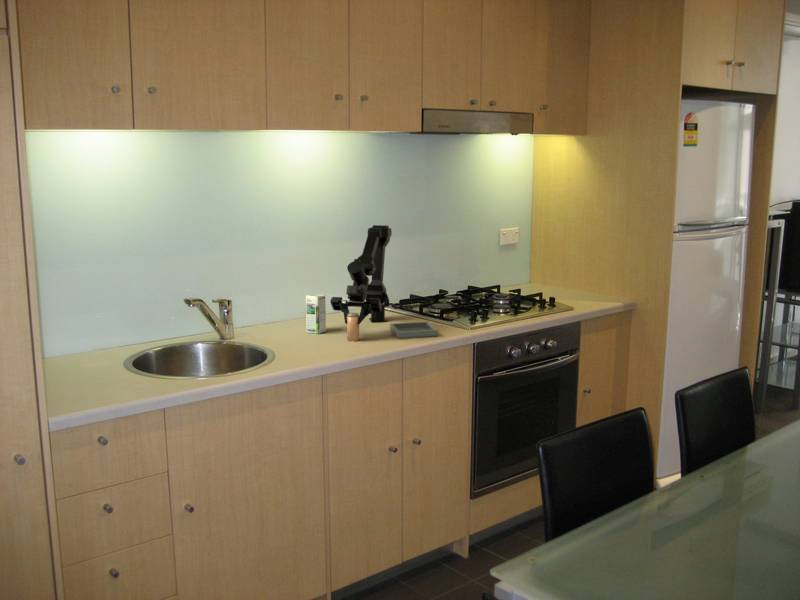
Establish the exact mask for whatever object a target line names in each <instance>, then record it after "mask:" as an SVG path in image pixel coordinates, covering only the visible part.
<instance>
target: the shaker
mask: <svg viewBox="0 0 800 600" xmlns="http://www.w3.org/2000/svg"><path fill="white" fill-rule="evenodd" d="M359 315H360V314H359V313H358V312H349V313H348V315H347V324H346V331H347V332H346V335H347V337H346V339H347V340H348V342H351V341H355V342H359V341H360V324H358V318H359Z"/></svg>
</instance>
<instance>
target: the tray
mask: <svg viewBox="0 0 800 600" xmlns="http://www.w3.org/2000/svg"><path fill="white" fill-rule="evenodd" d="M389 331H390V332H391V333H392V334H393V335H394V336H395V337H396V338H397V339H398V340H405V339H406V340H407V339H421V338H422V339H423V338H436V337H438V330H437V329H436V328H435V327H434V326H433V325H432V324H431V323H429V322H428V321H417V322H414V321H413V322H400V323H398V322H396V323H390V324H389Z"/></svg>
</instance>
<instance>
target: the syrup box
mask: <svg viewBox="0 0 800 600" xmlns="http://www.w3.org/2000/svg"><path fill="white" fill-rule="evenodd" d="M326 308H327V307H326V295H323V294H307V295H306V296H305V313H306V314H305V315H306V316H305V318H306V320H305V321H306V328H305V329H306V334H308V333H309V334H316V335H320V334H323V333H325V332H326V331H327V318H326V317H327V316H326V315H327V313H326V312H327V311H326Z"/></svg>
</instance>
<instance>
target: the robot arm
mask: <svg viewBox="0 0 800 600" xmlns="http://www.w3.org/2000/svg"><path fill="white" fill-rule="evenodd" d="M391 237H392V228H391V227H389V225H381V224H379V225H378V224H377V225H375V224H374V225H373V226H371V227H368V228H367V236H366V240H365V244H364V248H363V250H362V253H361V254H360V256H358V257H357V258H354V260H353V261H352V262H350V263H348V264H347V269H346V270H347V272H348V273H349V277H350V278H351V281H353V282H352V285H346V295H347V299H348V300H347V299H343V297H342V296H332V297H331V298H330V302H329V303H330V305H331V308H332V311H337V312H339V311H340V312H341V313H343V317H344V318H343V319H344V323H345V325H347V315H348V313H350V309H349V307H351V308H361V309H360V312H359V314H358V315H359V318H358V324H359V325H360V324H361V323H362V322H363V321H364V320H365V318H366V317H368V316H369V315H370V317H369V318H368V320H369V321H370V322H371V323H379V322H380V323H381V322H388V320H387V319H386V311H385V310H386V308H387V307H390V299H389V298H390V297H389V296H388V292H387V288H386V286H385V284H384V271H385V270H384V269H385V255H386V254H385V253H386V247H387V246H388V245H389V243H390V241H391ZM369 276H370V277H371V282H370V278H369ZM369 282H370V283H369Z"/></svg>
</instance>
